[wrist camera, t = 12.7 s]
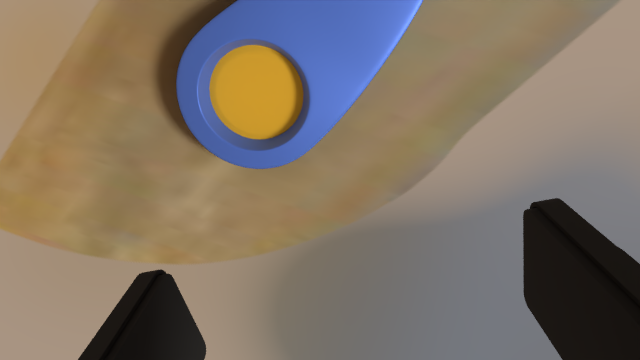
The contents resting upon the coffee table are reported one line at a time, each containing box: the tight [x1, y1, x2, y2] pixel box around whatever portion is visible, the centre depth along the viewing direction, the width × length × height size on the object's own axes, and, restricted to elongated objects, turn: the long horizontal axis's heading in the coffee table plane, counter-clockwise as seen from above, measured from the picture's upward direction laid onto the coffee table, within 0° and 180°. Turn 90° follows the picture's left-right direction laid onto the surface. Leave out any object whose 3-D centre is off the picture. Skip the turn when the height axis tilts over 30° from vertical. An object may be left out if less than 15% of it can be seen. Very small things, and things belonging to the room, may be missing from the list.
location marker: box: [176, 0, 423, 169], centre depth 31 cm, size 13×3×25 cm
